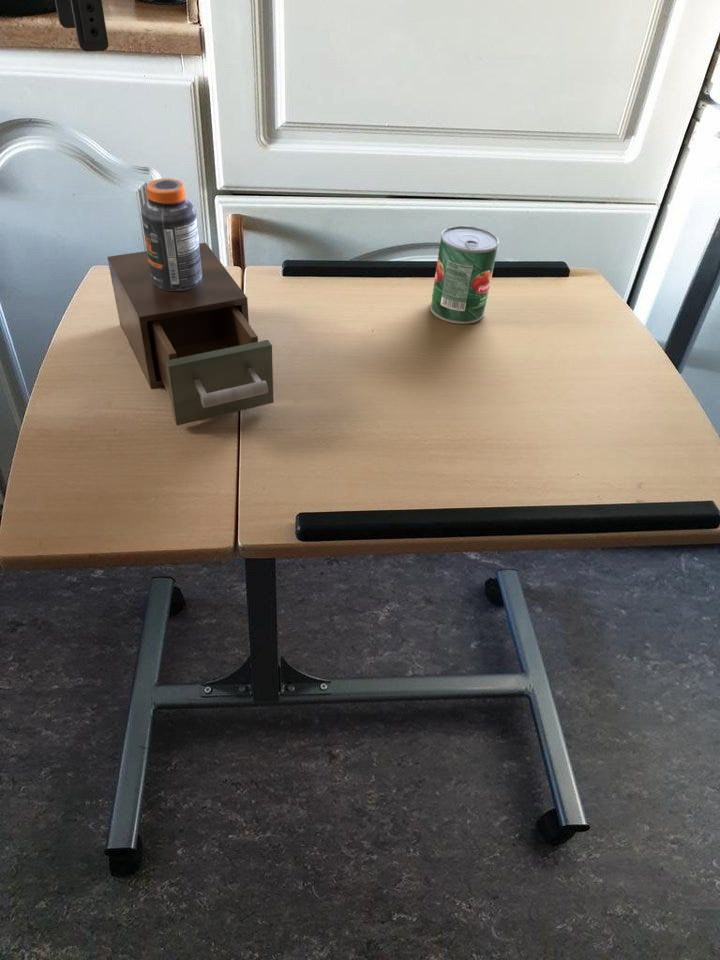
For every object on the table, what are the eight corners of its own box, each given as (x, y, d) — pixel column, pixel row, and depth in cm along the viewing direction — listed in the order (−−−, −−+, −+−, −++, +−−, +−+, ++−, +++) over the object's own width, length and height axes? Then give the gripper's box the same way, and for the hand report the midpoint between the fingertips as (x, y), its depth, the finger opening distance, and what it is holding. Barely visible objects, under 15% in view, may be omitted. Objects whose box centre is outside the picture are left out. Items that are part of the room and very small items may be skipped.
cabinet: (251, 366, 88) (247, 297, 82) (150, 388, 84) (138, 316, 77) (211, 308, 98) (205, 242, 92) (119, 324, 94) (107, 256, 87)
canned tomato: (427, 296, 105) (437, 223, 97) (478, 297, 105) (493, 226, 98) (434, 323, 99) (445, 249, 92) (488, 325, 100) (504, 251, 92)
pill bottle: (146, 272, 85) (131, 176, 77) (195, 266, 87) (185, 171, 79) (158, 295, 81) (143, 196, 73) (208, 288, 83) (199, 191, 75)
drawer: (287, 424, 79) (287, 365, 74) (188, 449, 75) (180, 389, 69) (231, 340, 91) (227, 284, 86) (143, 357, 87) (133, 300, 81)
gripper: (115, -234, 45) (150, 57, 56) (72, -231, 54) (110, 19, 65) (-13, -248, 42) (51, 61, 53) (-36, -242, 51) (23, 21, 62)
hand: (83, 38), depth 59 cm, fingers open, 8 cm apart
